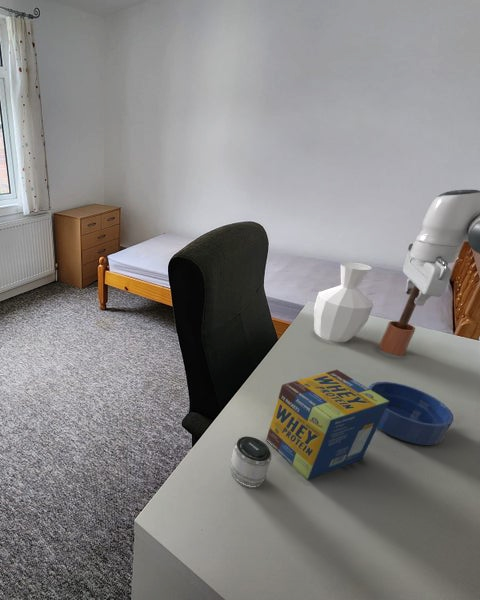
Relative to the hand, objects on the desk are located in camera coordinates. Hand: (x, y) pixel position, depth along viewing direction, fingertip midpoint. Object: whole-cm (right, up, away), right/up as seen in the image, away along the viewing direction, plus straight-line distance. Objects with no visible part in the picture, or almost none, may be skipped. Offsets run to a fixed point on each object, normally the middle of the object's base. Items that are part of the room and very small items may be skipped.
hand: (413, 299), depth 97 cm
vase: (-12, -13, +16) cm, 23 cm away
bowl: (-22, -29, -19) cm, 41 cm away
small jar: (-63, -35, -30) cm, 78 cm away
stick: (0, -16, +7) cm, 17 cm away
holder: (0, -16, +7) cm, 18 cm away
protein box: (-46, -32, -25) cm, 62 cm away
